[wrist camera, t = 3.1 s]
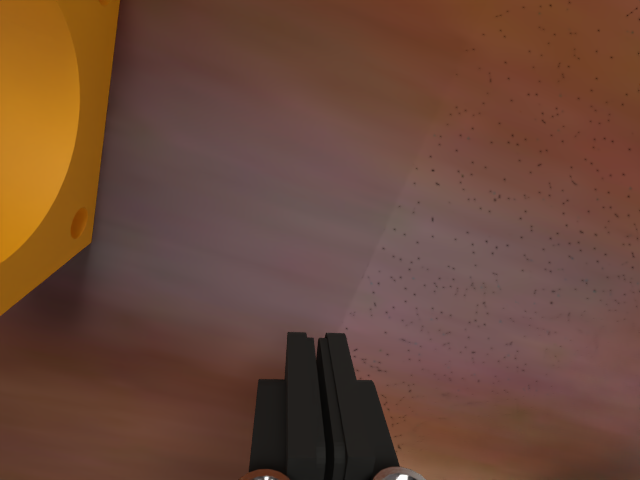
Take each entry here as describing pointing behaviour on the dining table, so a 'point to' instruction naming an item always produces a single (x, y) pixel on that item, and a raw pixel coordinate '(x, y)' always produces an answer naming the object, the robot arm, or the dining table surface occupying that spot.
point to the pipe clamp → (50, 133)
